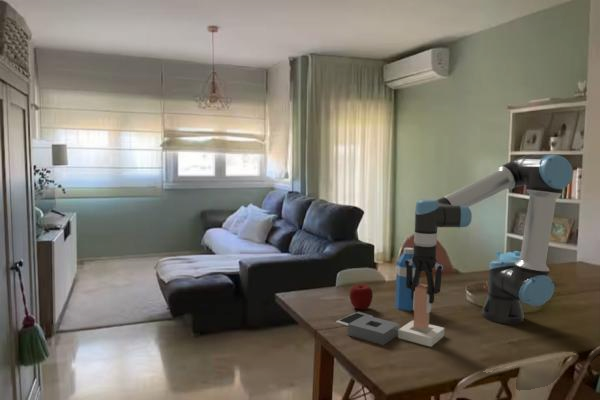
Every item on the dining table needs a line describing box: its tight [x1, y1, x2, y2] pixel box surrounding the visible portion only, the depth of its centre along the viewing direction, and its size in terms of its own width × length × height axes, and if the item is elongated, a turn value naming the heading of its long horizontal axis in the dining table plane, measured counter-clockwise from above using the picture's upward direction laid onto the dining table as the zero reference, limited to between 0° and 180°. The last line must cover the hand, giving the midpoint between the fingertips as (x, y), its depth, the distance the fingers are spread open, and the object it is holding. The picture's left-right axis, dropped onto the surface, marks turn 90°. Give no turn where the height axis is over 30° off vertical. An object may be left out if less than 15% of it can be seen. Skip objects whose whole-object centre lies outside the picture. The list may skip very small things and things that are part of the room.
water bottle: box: [394, 247, 420, 311], centre depth 196 cm, size 9×9×25 cm
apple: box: [349, 283, 374, 311], centre depth 194 cm, size 10×10×10 cm
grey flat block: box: [347, 315, 401, 346], centre depth 166 cm, size 14×12×4 cm
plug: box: [413, 283, 431, 329], centre depth 164 cm, size 4×4×15 cm
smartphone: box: [335, 311, 374, 327], centre depth 181 cm, size 7×15×1 cm, turn 139°
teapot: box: [493, 250, 521, 261], centre depth 250 cm, size 22×11×14 cm, turn 42°
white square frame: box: [397, 319, 445, 348], centre depth 165 cm, size 12×12×3 cm
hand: (421, 310), depth 164 cm, fingers closed on plug, 4 cm apart
